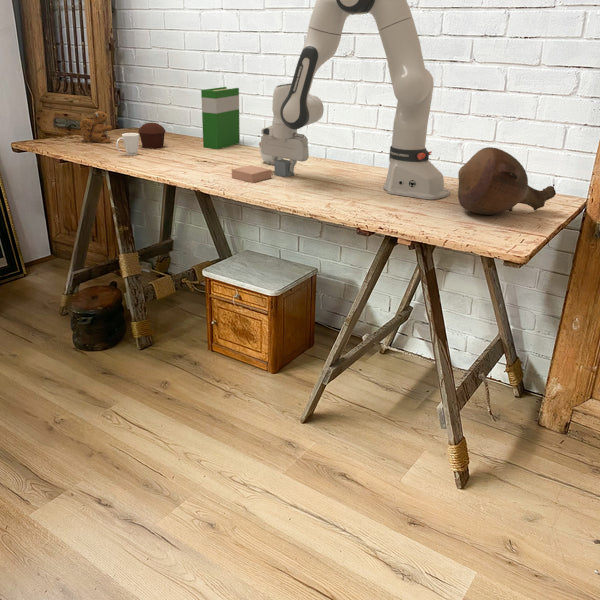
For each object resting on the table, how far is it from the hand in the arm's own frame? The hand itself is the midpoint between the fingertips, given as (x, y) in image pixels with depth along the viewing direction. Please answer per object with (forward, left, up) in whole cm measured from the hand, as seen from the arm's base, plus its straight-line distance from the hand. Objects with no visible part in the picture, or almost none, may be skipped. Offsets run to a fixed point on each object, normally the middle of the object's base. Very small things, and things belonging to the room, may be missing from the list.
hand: (284, 170), depth 227 cm
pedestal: (+5, +12, -2) cm, 13 cm away
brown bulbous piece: (-80, -8, -2) cm, 80 cm away
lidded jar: (+17, -13, -2) cm, 21 cm away
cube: (0, 0, -2) cm, 2 cm away
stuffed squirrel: (+102, +10, -2) cm, 102 cm away
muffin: (+75, 0, -2) cm, 75 cm away
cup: (+68, +18, -2) cm, 70 cm away
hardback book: (+57, -24, -2) cm, 62 cm away
